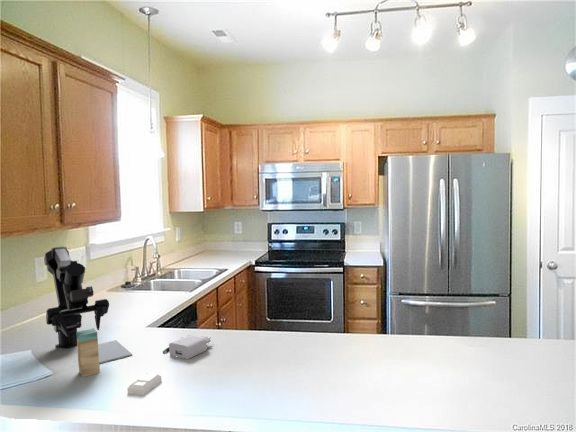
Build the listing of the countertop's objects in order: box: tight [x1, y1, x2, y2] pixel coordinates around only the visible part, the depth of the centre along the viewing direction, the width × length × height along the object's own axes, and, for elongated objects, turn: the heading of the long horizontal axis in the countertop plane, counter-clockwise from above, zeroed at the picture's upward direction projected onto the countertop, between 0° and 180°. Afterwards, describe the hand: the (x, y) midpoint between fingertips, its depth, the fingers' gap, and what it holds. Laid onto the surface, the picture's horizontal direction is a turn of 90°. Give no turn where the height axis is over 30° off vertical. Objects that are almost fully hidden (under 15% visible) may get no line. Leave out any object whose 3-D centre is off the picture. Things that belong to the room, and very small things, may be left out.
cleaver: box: [162, 337, 184, 354], centre depth 155 cm, size 17×1×5 cm
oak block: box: [76, 327, 101, 378], centre depth 133 cm, size 5×5×13 cm
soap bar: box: [126, 373, 162, 396], centre depth 120 cm, size 5×9×3 cm, turn 164°
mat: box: [98, 340, 133, 365], centre depth 150 cm, size 20×12×1 cm, turn 37°
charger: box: [168, 335, 212, 360], centre depth 149 cm, size 5×9×15 cm
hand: (83, 332), depth 136 cm, fingers open, 9 cm apart
